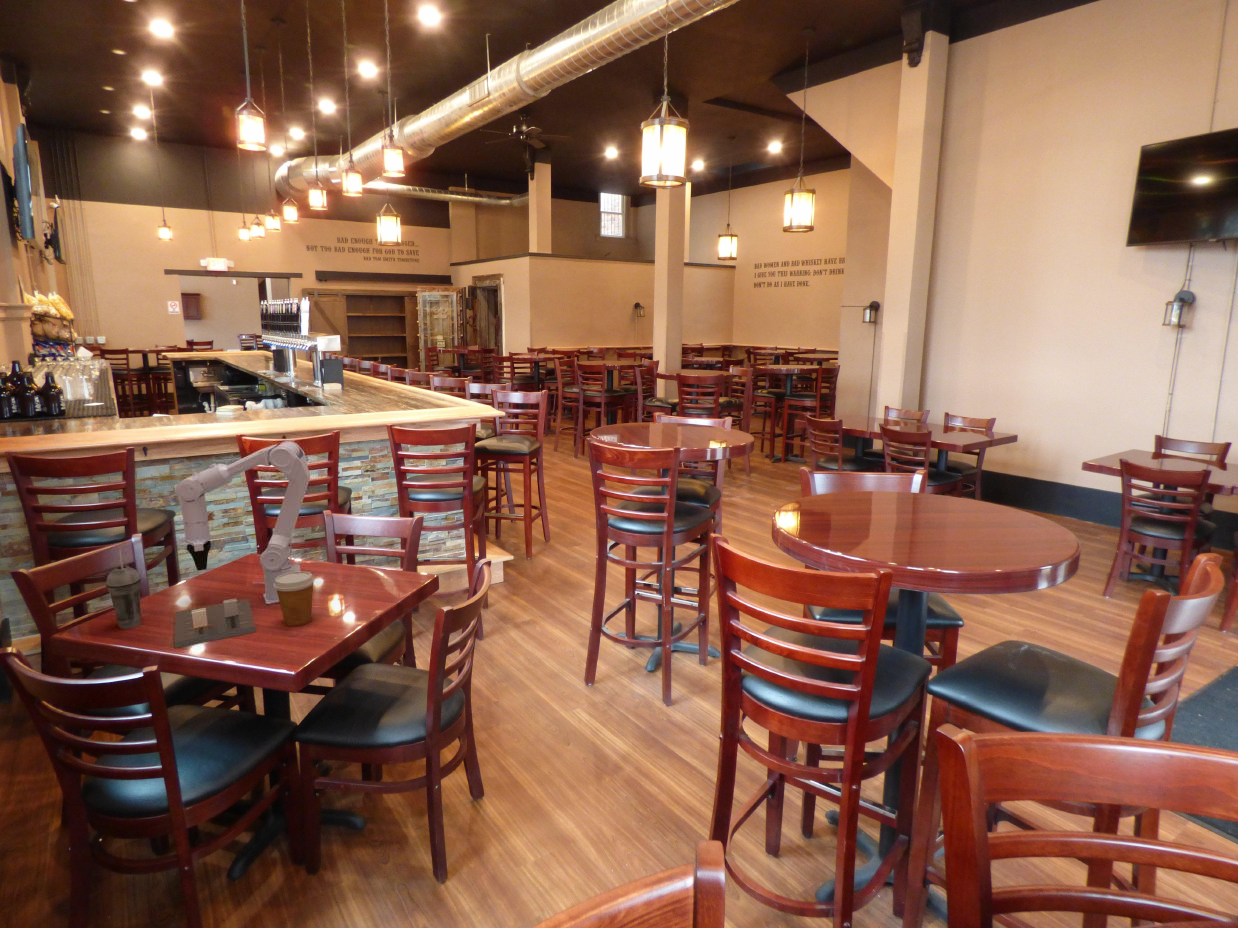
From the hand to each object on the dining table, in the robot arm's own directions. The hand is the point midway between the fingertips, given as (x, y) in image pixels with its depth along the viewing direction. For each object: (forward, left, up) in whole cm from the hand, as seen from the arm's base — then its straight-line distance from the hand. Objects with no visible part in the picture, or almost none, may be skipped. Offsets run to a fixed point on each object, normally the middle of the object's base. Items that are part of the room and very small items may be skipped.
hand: (201, 569), depth 191 cm
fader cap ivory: (+2, +20, -8) cm, 22 cm away
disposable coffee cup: (-20, +26, -10) cm, 34 cm away
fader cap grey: (-5, +17, -8) cm, 20 cm away
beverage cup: (+17, +6, -10) cm, 21 cm away
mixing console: (-1, +17, -10) cm, 20 cm away
